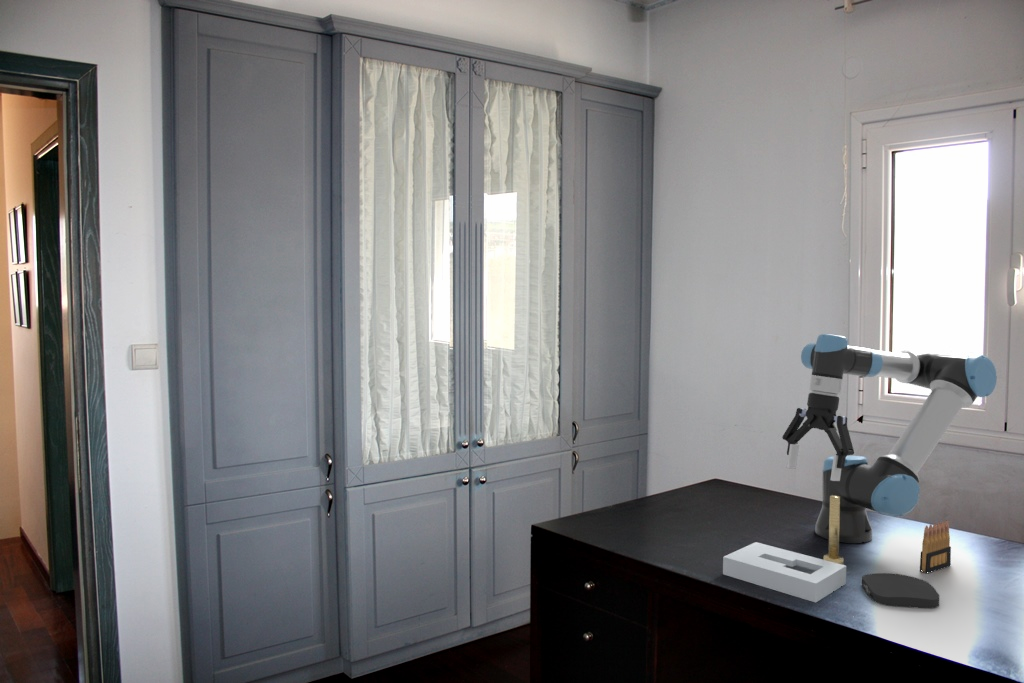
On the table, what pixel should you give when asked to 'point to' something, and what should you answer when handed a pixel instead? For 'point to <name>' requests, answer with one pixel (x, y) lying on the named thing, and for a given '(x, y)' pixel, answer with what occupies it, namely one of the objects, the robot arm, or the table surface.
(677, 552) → the table surface
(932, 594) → the media streaming box
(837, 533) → the brass peg
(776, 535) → the table surface
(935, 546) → the ammunition clip
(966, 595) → the table surface
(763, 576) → the keyhole plate
